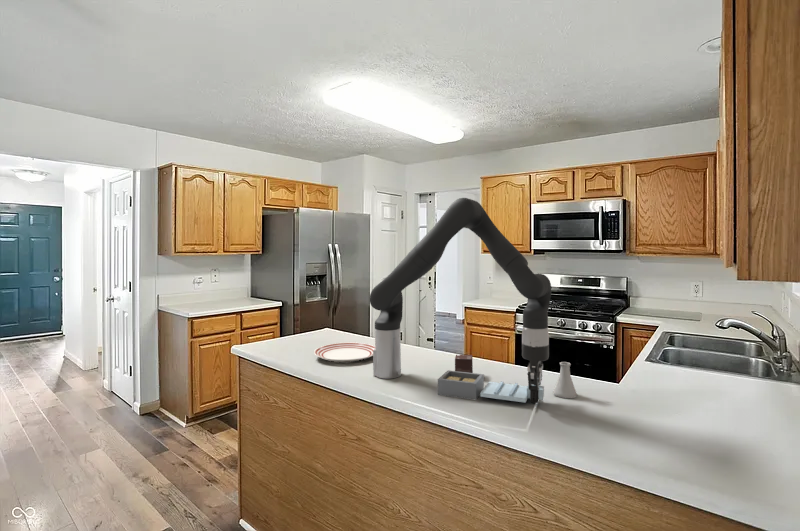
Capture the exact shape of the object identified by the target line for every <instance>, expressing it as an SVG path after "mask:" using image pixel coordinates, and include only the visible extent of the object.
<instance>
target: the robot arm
mask: <svg viewBox="0 0 800 531" xmlns="http://www.w3.org/2000/svg"><path fill="white" fill-rule="evenodd" d="M445 210H446V211H445V212H444V213H443V215H441V217H440V219H439V220H438V221H437V222H436V224H435V225H434V226H433V227H432V228H431V229H430V230H429V231H428V232H427V233H426V234H425V235H424V236H423V238H421V239H420V241H419V242H418V243H416V245H415V246H413V248H412V249H411V250H410V251H409V252H408V253H407V255H405V257H404V258H403V259H402V260H401V261H400V262H399V263H398V264H397V266H396V267H395V268H394V269H393V270H392V271H391V272H390V274H388V275H387V276H386V277H385V278H383V280H382V281H380V282H379V283H378V284H377V285H375V287H373V289H372V290H371V291H370V294H369V304H370V305H371V308H373V309H375V310H376V311H380V312H379V316H378V317H377V318H376V319H375V321H374V346H375V349H374V350H373V356H372V363H373V364H372V370H373V372H372V374H373V376H374V377H377V378H379V379H386V380H387V379H389V380H391V379H395V378H398V377H400V376H402V358H401V357H402V356H401V355H402V354H401V353H402V352H401V351H402V350H401V349H402V348H401V322H402V321H403V311H404V310H403V307H404V306H403V303H404V302H403V300H404V298H403V292H402V291H403V290H404V289H406V288H407V287H408V286H410V285H411V284H412V283H415V282H416V281H418V280H419V279H421V278H422V277H424V276H426V274H428V273H429V272H430V270H432V268H434V267H435V266H436V265H437V263H438V262H439V261H440V260H441V258H442V256H443V254H444V252H445V250H446V247H447V245H448V244H449V242H450V241H452V238H454V237H455V236H456V234H458V233H459V232H460V231H461V230H462V229H469V230H470V231H471V232H473V233H474V234H475V235H476V236H477V237H478V238H479V239H480V240H481V241H482V242H483V243H484V245H485V247H486V248H487V250H488V252H489V253H490V255H491V257H492V259H493V260H494V261H495V262H496V263H497V264H498V266H500V267H501V268H502V270H503V271H504V272H505V273H506V274H507V275H508V277H509V279H510V281H511V282H512V283H513V285H514V287H515V288H516V290H517V291H518V293H520V295H522V296H523V297H524V298H526V299H527V303H526V306H525V307H524V308H523V310H522V332H521V356H522V358H523V359H524V360H527V361H529V362H528V364H527V367H526V368H527V373H526V374H527V382H528V385H529V386H528V385H527V386H528V388H529V390H530V401H529V402H531V403H532V404H538V403H539V401H540V400H538V391H539V386H542V381H543V370H544V363H543V362H545V361H548V360H549V357H550V334H549V313H548V312H549V308H550V303H551V297H552V284H551V281H550V278H549V277H548V276H547V275H545V274H543V273H534V272H533V271H532V270H531V268H530V267H529V266H528V265H529V262H528V259H526V257H525V256H524V255H523V254H522V253H521V252H520V251H519V250H518V249H517V248H516V247H515V246H514V244H513V243H511V242H510V240H509V239H508V238H507V237H506V236H505V235H504V234H503V233H502V232H501V230H499V228H498V227H497V226H496V225H495V223H494V222H493V221H492V219H491V218H490V216H489V215H488V214H487V212H486V210H485V209H484V208H483V206H482V204H480V203H479V202H478V201H477V200H475V199H471V198H468V197H460V198H457V199H456V200H454V201H453V202H452V203H451V204H450V205H449V206H448V207H447V209H445ZM532 385H536V386H532Z"/></svg>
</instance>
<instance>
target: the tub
mask: <svg viewBox="0 0 800 531" xmlns="http://www.w3.org/2000/svg"><path fill="white" fill-rule="evenodd" d="M449 376H453V377H461V381H458V380H450V379H447V378H448V377H449ZM484 376H485V374H484V373H475V372H473V373H468V372H459V371H455V370H450V369H449V370H446V371H445V372H444V373H443V374H442V375H441V376H440V377H439V378H437V395H438V396H443V397H444V396H445V397H450V398H459V399H467V400H474V401H477V399H478V398H479V397H480V396H481V391H482V390H483V389H484V387H485V382H484V381H485V378H484ZM464 378H470V379H476V380H475V381H474V382H466V381H462V380H463V379H464Z"/></svg>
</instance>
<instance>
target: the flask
mask: <svg viewBox="0 0 800 531" xmlns="http://www.w3.org/2000/svg"><path fill="white" fill-rule="evenodd" d="M571 365H572V364H571V363H570V362H567V361H561V362H559V366H560V371H559V376H558V378H557V381H556V384H555V386H554V388H553V391H552V394H553V396H554V397H558V398H562V399H575V398H576V397H578V393H577V391H576V389H575V386H574V382H573V379H572V376H571V368H570V367H571Z"/></svg>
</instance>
